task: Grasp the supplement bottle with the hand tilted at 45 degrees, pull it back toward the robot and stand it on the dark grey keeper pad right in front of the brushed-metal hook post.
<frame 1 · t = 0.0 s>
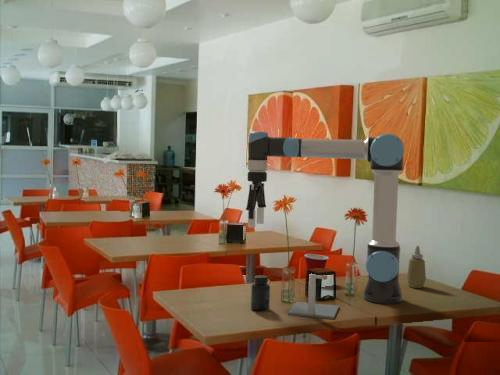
hand: (255, 225, 235), 28 cm above the table, tool pointing down, fingers open, 13 cm apart
plastic cup: (315, 282, 266), on the table
squeeze bottle: (415, 287, 262), on the table
supplement bottle: (260, 309, 217), on the table
keeper: (314, 311, 216), on the table
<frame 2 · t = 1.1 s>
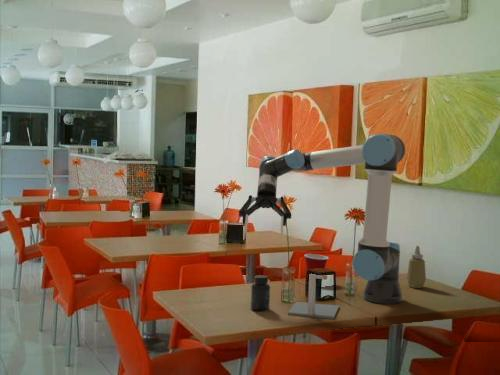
hand: (263, 230, 226), 27 cm above the table, tool tilted 45°, fingers open, 13 cm apart
nothing on the table moved.
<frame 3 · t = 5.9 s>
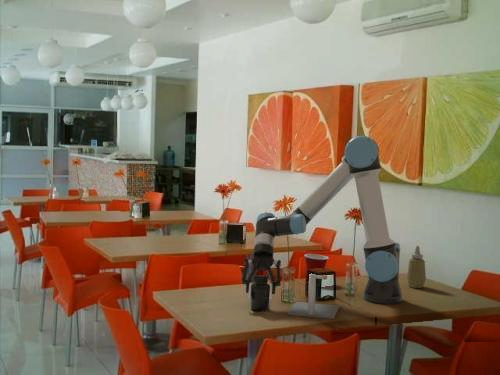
hand: (259, 300, 213), 4 cm above the table, tool tilted 45°, fingers closed on supplement bottle, 7 cm apart
supplement bottle: (260, 309, 217), on the table, touching gripper
everything else where it was.
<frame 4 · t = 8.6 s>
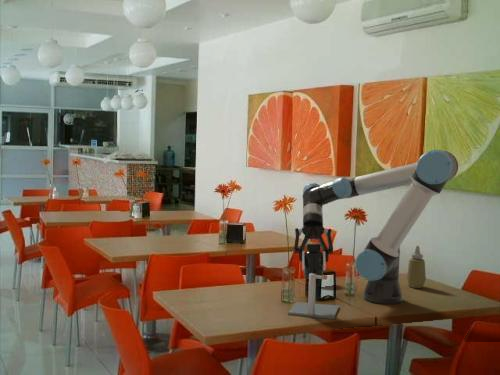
hand: (313, 268, 213), 16 cm above the table, tool tilted 45°, fingers closed on supplement bottle, 7 cm apart
supplement bottle: (313, 277, 217), point 12 cm above the table, touching gripper
everything else where it was.
when the fingers open (6 cm above the table, at t = 11.1 s): supplement bottle drops 1 cm, resting on keeper.
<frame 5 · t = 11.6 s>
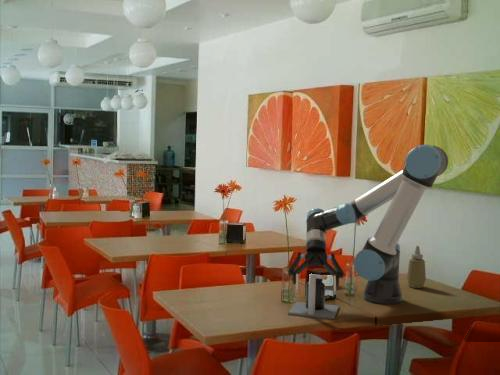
hand: (315, 292, 215), 7 cm above the table, tool tilted 45°, fingers open, 13 cm apart
supplement bottle: (314, 308, 218), point 1 cm above the table, touching keeper
everything else where it was.
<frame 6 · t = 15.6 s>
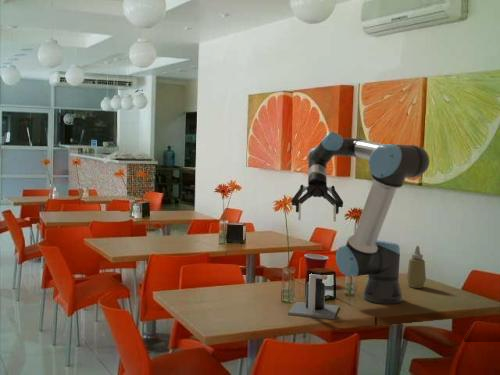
hand: (317, 218, 232), 32 cm above the table, tool tilted 45°, fingers open, 13 cm apart
nothing on the table moved.
at the end: supplement bottle inside the target area (0.4 cm from its centre), point 0.6 cm above the table; supplement bottle tilted 0°; the gripper is holding nothing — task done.
